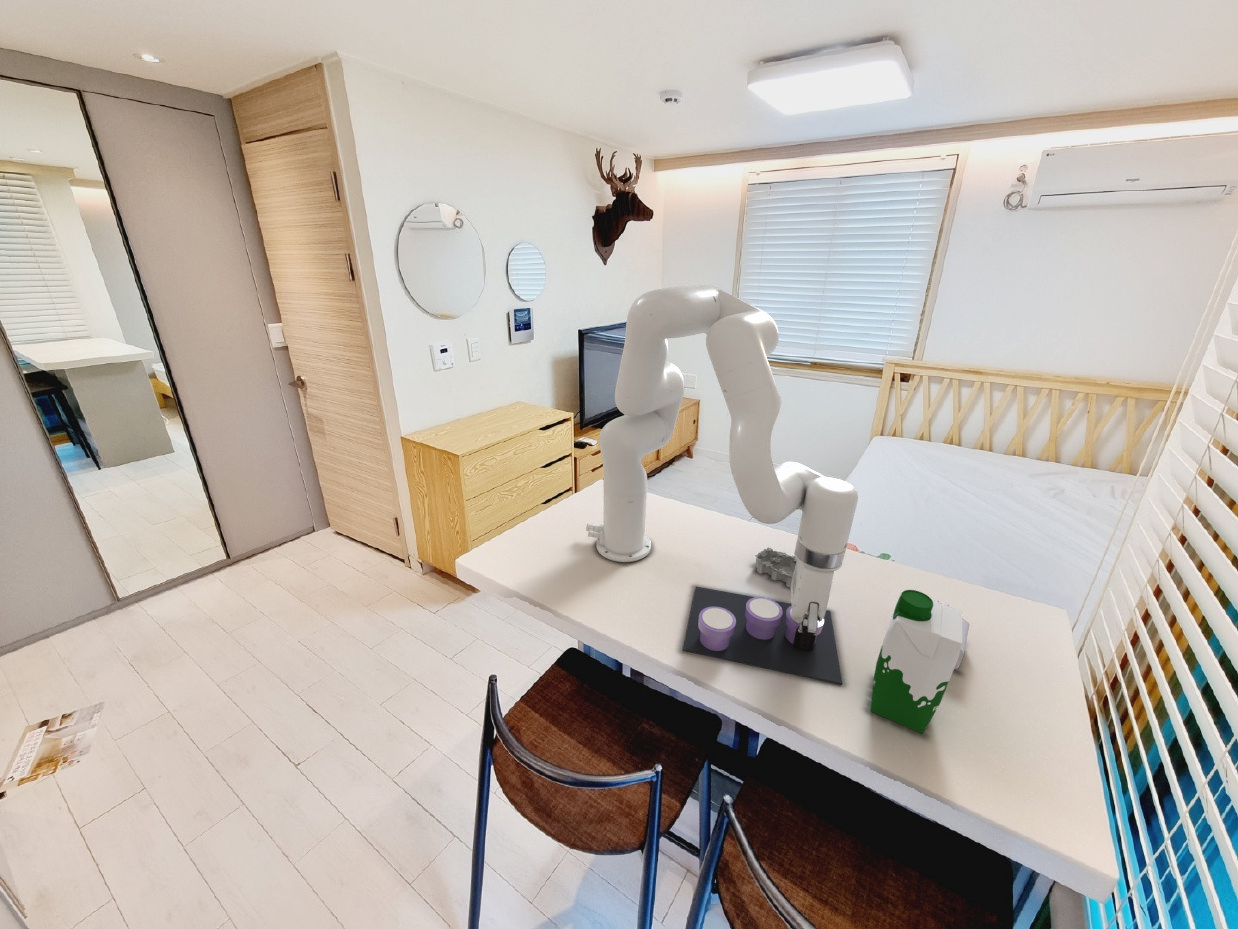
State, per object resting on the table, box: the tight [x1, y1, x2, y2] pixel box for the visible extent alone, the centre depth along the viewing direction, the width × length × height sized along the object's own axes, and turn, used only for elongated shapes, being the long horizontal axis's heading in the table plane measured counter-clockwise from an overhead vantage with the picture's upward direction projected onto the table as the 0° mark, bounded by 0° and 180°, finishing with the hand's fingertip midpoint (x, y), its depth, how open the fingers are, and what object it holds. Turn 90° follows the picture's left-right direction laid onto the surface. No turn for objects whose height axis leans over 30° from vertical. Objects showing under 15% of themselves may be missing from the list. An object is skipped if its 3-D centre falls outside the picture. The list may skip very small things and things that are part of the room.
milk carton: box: [870, 589, 963, 735], centre depth 74 cm, size 9×9×20 cm
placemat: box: [682, 586, 843, 685], centre depth 92 cm, size 26×18×1 cm
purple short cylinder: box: [698, 607, 736, 651], centre depth 89 cm, size 6×6×5 cm
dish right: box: [785, 605, 824, 645], centre depth 90 cm, size 6×6×5 cm
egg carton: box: [754, 546, 797, 589], centre depth 107 cm, size 11×8×4 cm
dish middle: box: [745, 596, 783, 640], centre depth 91 cm, size 6×6×5 cm
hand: (801, 633), depth 90 cm, fingers closed on dish right, 6 cm apart
